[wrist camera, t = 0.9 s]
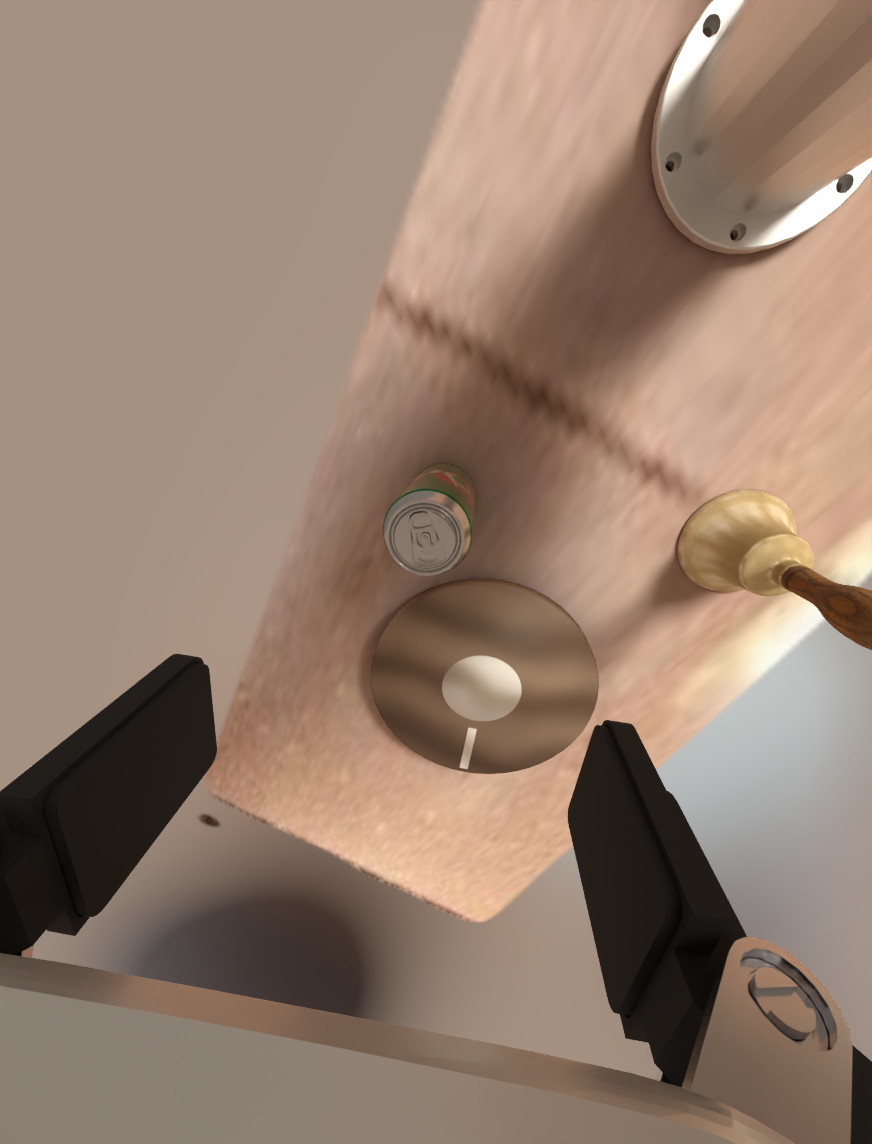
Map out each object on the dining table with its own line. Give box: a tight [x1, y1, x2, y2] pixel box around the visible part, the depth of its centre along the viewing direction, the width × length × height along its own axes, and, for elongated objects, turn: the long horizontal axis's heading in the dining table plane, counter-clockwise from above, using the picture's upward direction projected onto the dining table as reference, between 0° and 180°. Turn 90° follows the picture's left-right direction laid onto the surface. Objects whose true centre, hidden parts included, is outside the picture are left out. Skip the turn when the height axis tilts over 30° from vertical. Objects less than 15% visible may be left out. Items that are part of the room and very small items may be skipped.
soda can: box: [383, 464, 475, 576], centre depth 28 cm, size 5×5×12 cm
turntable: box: [371, 579, 599, 774], centre depth 38 cm, size 20×20×2 cm
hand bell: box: [677, 489, 872, 650], centre depth 25 cm, size 8×8×16 cm
